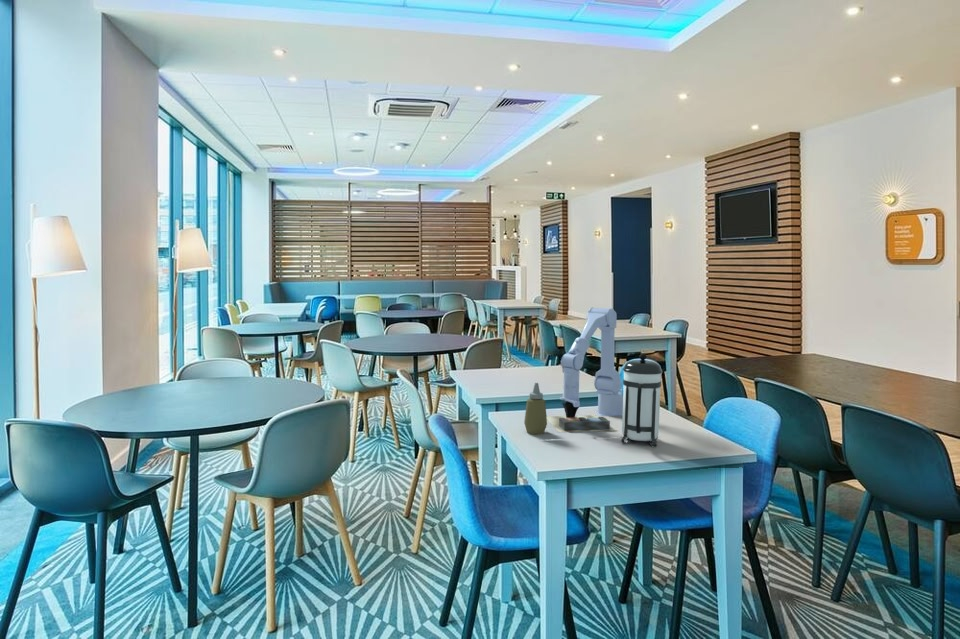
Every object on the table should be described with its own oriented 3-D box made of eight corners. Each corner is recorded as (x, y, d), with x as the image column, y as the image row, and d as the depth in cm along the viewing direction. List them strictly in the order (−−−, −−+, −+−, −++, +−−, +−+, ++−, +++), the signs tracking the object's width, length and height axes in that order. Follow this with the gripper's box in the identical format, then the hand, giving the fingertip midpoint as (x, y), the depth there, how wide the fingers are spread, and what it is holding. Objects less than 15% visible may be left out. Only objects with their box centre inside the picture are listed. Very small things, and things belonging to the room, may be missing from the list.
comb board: (595, 416, 224) (595, 407, 224) (617, 431, 202) (617, 422, 202) (543, 417, 221) (543, 409, 220) (559, 433, 199) (559, 423, 199)
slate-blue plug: (597, 425, 208) (597, 417, 208) (600, 428, 204) (601, 420, 204) (586, 425, 208) (586, 417, 208) (590, 428, 204) (590, 420, 204)
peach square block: (576, 425, 208) (576, 417, 208) (579, 428, 204) (580, 420, 204) (565, 425, 208) (566, 417, 207) (569, 428, 204) (569, 420, 204)
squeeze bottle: (522, 435, 196) (523, 384, 194) (525, 429, 204) (526, 380, 202) (545, 437, 194) (546, 385, 192) (548, 431, 202) (549, 381, 200)
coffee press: (606, 437, 195) (608, 351, 193) (644, 433, 201) (647, 350, 199) (636, 451, 179) (639, 358, 177) (677, 447, 185) (681, 356, 182)
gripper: (555, 382, 215) (554, 417, 216) (566, 389, 200) (565, 427, 201) (573, 382, 216) (572, 416, 217) (585, 389, 201) (584, 426, 202)
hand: (570, 421), depth 209 cm, fingers closed
